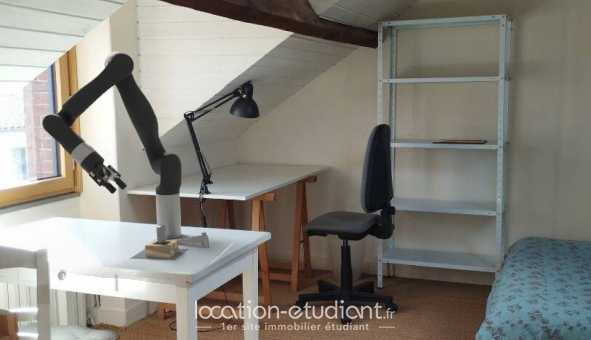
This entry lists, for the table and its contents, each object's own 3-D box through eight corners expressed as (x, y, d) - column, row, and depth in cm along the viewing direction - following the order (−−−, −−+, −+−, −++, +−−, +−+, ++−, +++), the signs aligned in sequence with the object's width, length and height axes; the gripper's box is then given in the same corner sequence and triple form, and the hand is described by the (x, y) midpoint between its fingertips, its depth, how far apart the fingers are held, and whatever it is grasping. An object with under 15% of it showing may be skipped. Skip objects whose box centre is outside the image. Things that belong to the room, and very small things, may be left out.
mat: (147, 248, 238) (147, 247, 238) (189, 250, 236) (189, 248, 235) (130, 259, 224) (129, 258, 224) (174, 261, 221) (174, 259, 221)
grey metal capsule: (159, 252, 231) (158, 224, 229) (168, 252, 230) (167, 225, 229) (156, 254, 228) (155, 226, 226) (164, 255, 227) (163, 227, 226)
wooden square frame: (155, 250, 234) (154, 239, 233) (178, 251, 232) (178, 240, 232) (145, 256, 225) (145, 245, 225) (169, 257, 224) (169, 246, 223)
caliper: (209, 249, 238) (209, 232, 237) (207, 249, 237) (207, 232, 236) (164, 243, 247) (164, 227, 246) (162, 244, 246) (162, 228, 245)
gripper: (84, 152, 223) (118, 185, 222) (103, 148, 237) (134, 179, 236) (71, 168, 224) (104, 201, 224) (90, 162, 238) (121, 193, 238)
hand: (120, 190), depth 230 cm, fingers open, 8 cm apart
